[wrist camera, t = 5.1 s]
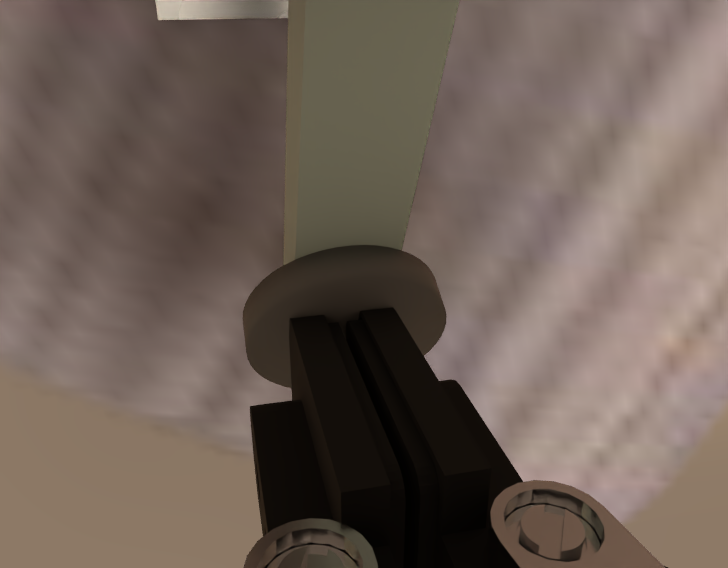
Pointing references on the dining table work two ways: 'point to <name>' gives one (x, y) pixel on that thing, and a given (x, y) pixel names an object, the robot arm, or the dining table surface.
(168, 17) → the pivot stand
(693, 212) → the dining table surface
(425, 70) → the lever
